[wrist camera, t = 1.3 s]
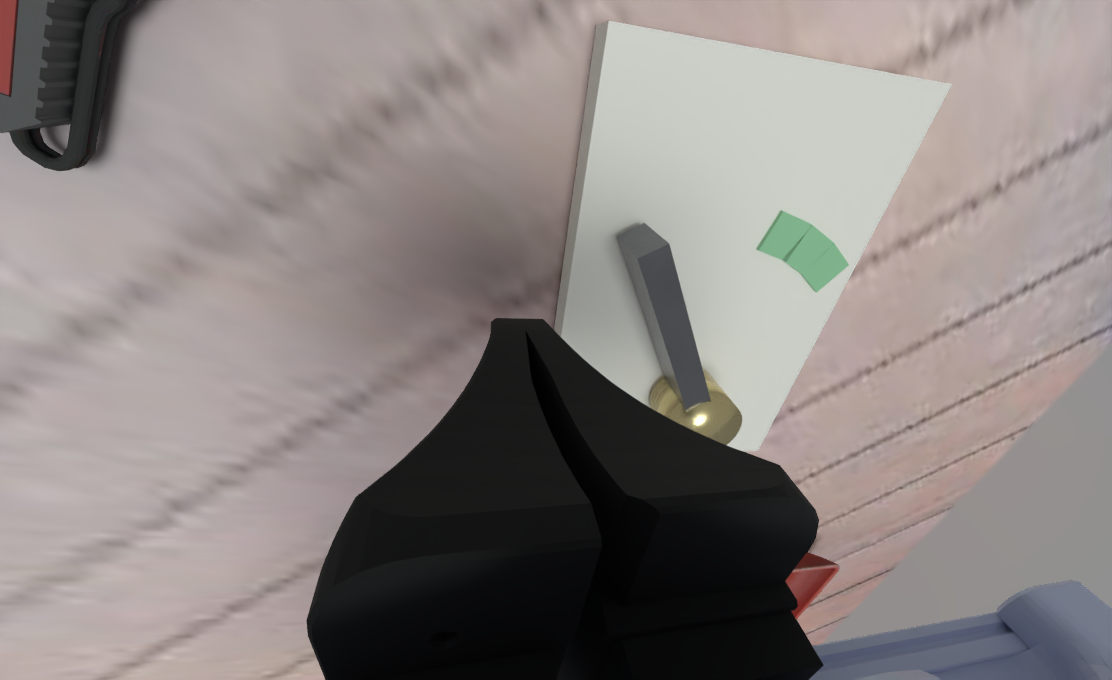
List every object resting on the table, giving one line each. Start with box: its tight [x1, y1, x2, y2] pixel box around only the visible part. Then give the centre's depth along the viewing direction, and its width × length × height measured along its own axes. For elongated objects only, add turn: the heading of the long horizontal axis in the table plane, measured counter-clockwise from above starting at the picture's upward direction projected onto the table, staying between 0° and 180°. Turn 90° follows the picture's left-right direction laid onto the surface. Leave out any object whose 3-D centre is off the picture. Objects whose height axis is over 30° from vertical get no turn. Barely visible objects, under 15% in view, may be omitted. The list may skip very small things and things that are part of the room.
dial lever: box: [616, 223, 742, 445], centre depth 19 cm, size 12×4×3 cm, turn 23°
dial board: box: [554, 21, 952, 451], centre depth 20 cm, size 20×14×2 cm
